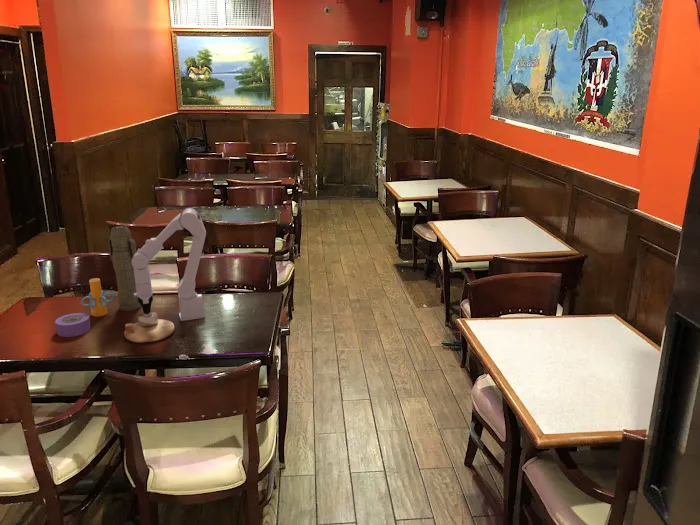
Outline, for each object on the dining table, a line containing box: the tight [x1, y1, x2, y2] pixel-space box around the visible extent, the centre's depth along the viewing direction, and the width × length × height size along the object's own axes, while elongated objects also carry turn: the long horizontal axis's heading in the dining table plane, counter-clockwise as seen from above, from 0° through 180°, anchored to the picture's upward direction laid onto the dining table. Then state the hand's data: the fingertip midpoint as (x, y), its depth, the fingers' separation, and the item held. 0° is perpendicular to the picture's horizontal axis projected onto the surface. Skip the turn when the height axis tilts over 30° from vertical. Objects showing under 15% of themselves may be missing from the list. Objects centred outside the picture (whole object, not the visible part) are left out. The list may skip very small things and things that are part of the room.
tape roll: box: [54, 312, 92, 338], centre depth 217 cm, size 12×12×5 cm
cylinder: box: [80, 277, 115, 318], centre depth 230 cm, size 12×10×15 cm
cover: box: [137, 311, 159, 328], centre depth 218 cm, size 7×7×4 cm
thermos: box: [107, 225, 142, 312], centre depth 234 cm, size 9×12×35 cm
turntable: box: [123, 318, 175, 343], centre depth 214 cm, size 18×18×4 cm
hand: (147, 314), depth 225 cm, fingers closed
